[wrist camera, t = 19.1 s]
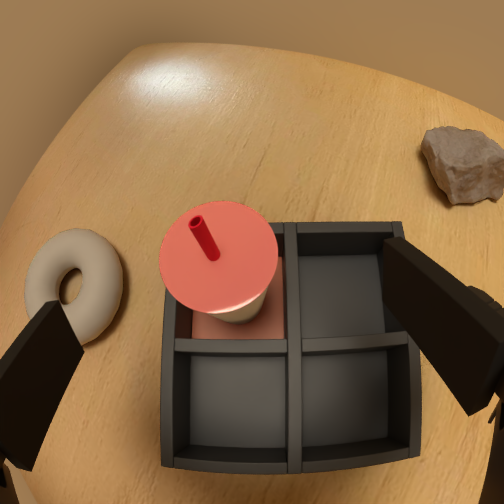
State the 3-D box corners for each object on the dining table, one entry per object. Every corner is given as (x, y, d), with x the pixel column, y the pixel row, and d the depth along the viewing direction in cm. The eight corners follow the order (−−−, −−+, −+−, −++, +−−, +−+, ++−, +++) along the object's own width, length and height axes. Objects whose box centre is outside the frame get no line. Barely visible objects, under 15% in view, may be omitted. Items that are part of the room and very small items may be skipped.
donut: (142, 333, 23) (121, 222, 26) (122, 326, 19) (104, 203, 23) (47, 359, 22) (37, 257, 26) (22, 355, 19) (15, 244, 22)
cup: (186, 297, 22) (109, 219, 11) (242, 250, 24) (216, 140, 12) (233, 354, 21) (187, 328, 10) (292, 303, 22) (311, 223, 11)
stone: (481, 153, 27) (504, 120, 22) (502, 215, 24) (533, 186, 19) (410, 139, 28) (428, 99, 23) (427, 206, 25) (455, 169, 20)
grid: (181, 451, 19) (160, 466, 15) (188, 252, 25) (171, 225, 20) (394, 443, 18) (420, 456, 14) (382, 247, 24) (401, 221, 20)
